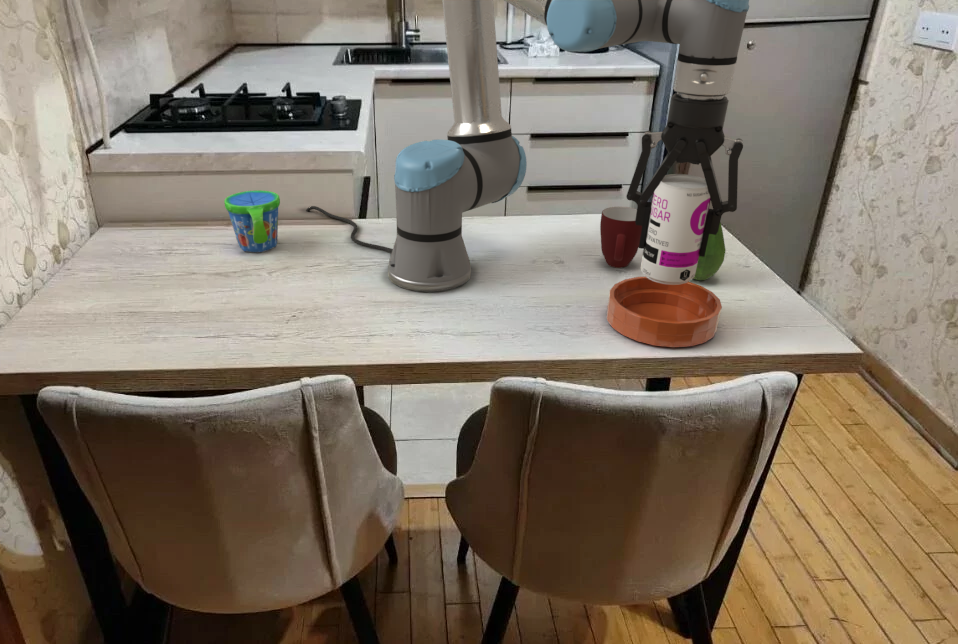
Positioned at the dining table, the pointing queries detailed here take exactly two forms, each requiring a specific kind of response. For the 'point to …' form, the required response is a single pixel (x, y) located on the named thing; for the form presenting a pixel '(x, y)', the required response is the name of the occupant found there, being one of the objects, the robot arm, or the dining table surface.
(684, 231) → the supplement can
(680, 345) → the bowl
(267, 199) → the snack cup
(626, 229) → the mug
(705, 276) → the avocado
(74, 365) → the dining table surface
